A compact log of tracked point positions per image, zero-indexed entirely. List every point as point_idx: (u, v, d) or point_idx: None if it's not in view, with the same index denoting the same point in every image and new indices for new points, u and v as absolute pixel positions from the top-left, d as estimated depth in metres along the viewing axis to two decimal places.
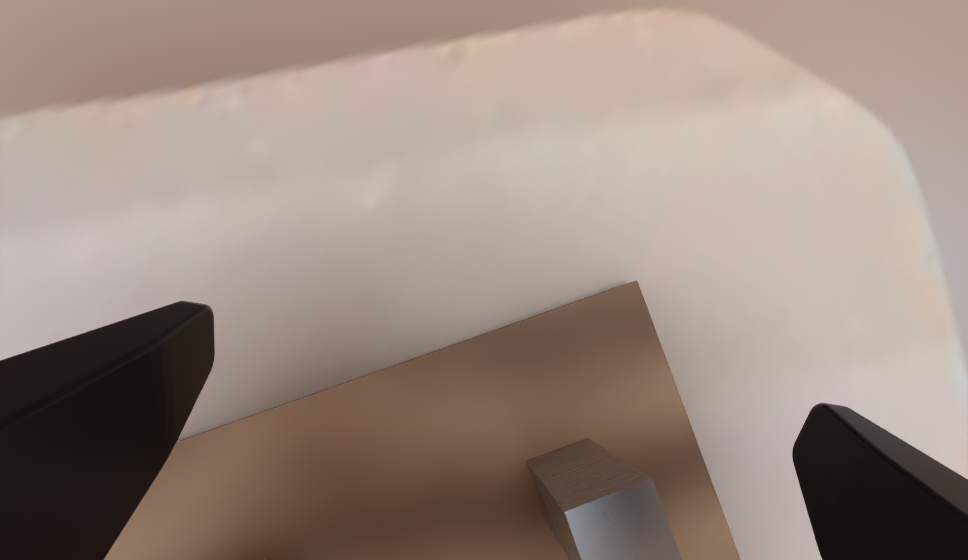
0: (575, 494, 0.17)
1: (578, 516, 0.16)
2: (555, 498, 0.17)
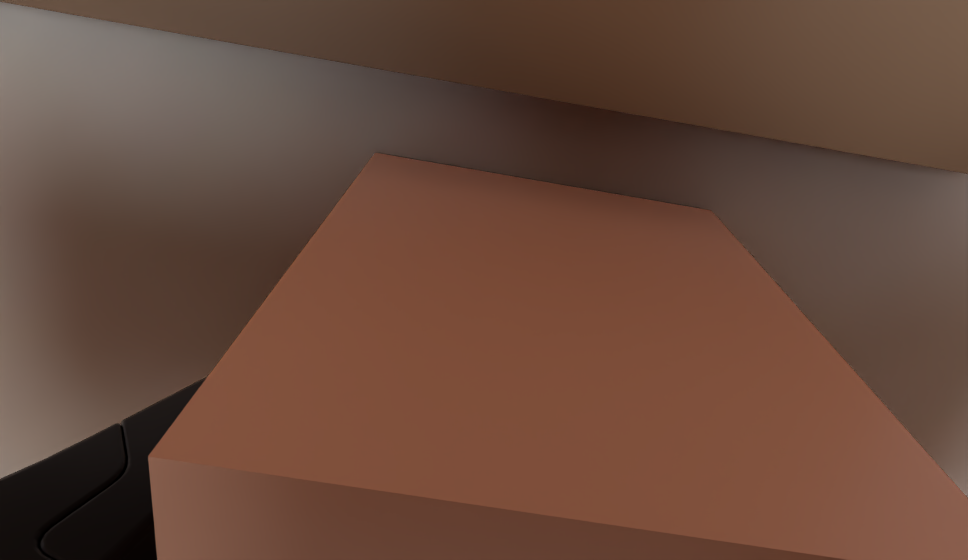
0: None
1: None
2: None
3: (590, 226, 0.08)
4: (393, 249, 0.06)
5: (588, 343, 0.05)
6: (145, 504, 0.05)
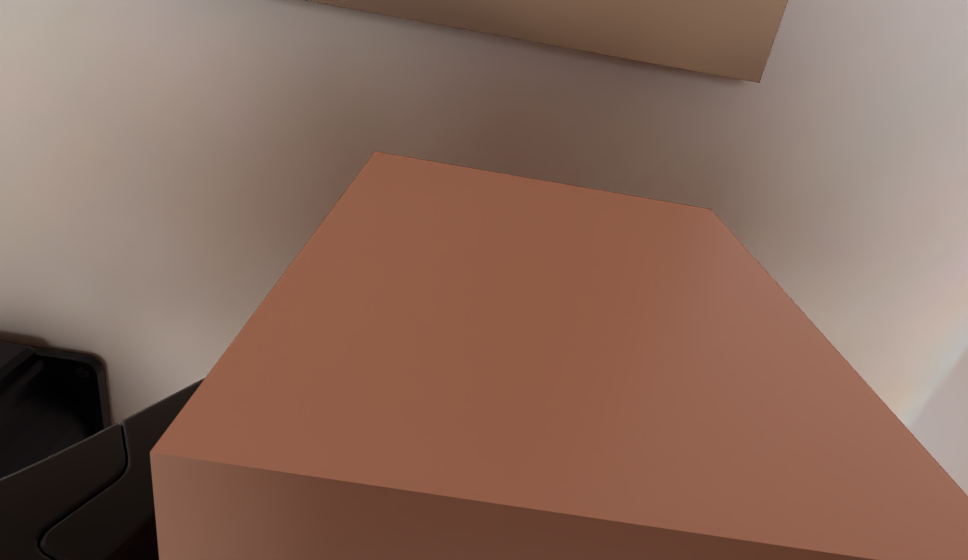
0: None
1: None
2: None
3: (590, 226, 0.08)
4: (393, 247, 0.06)
5: (588, 341, 0.05)
6: (145, 504, 0.05)
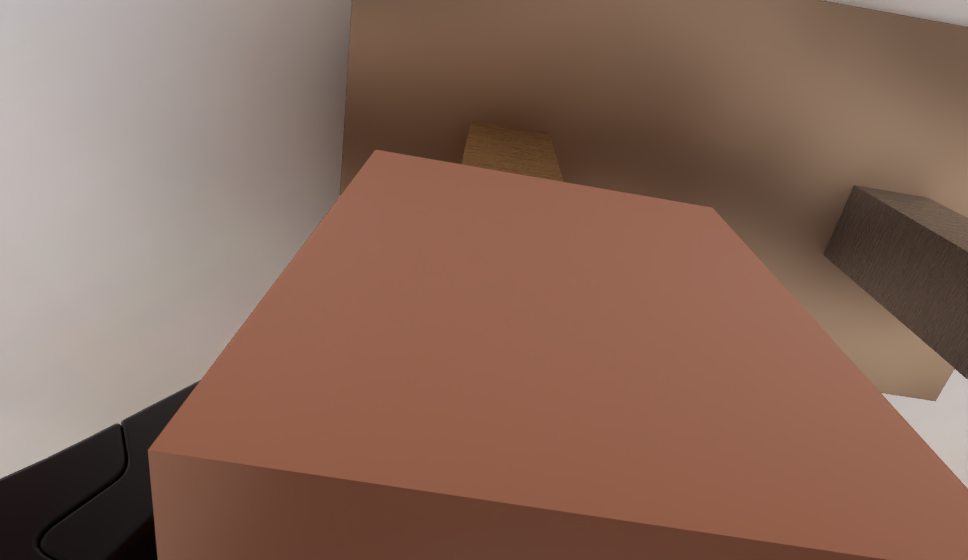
0: None
1: None
2: None
3: (591, 224, 0.08)
4: (394, 245, 0.06)
5: (590, 338, 0.05)
6: (145, 504, 0.05)
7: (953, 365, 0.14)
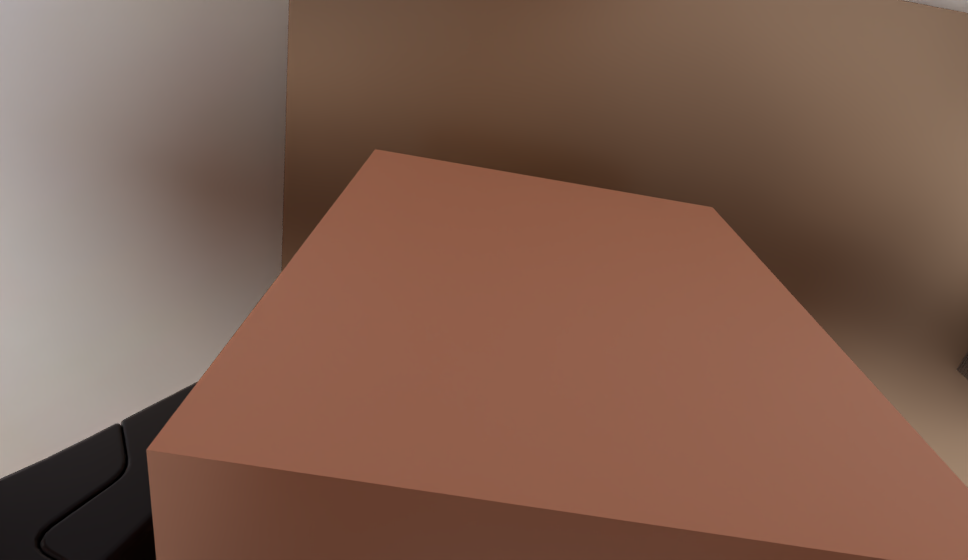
0: None
1: None
2: None
3: (591, 223, 0.08)
4: (393, 244, 0.06)
5: (590, 338, 0.05)
6: (145, 504, 0.05)
7: None
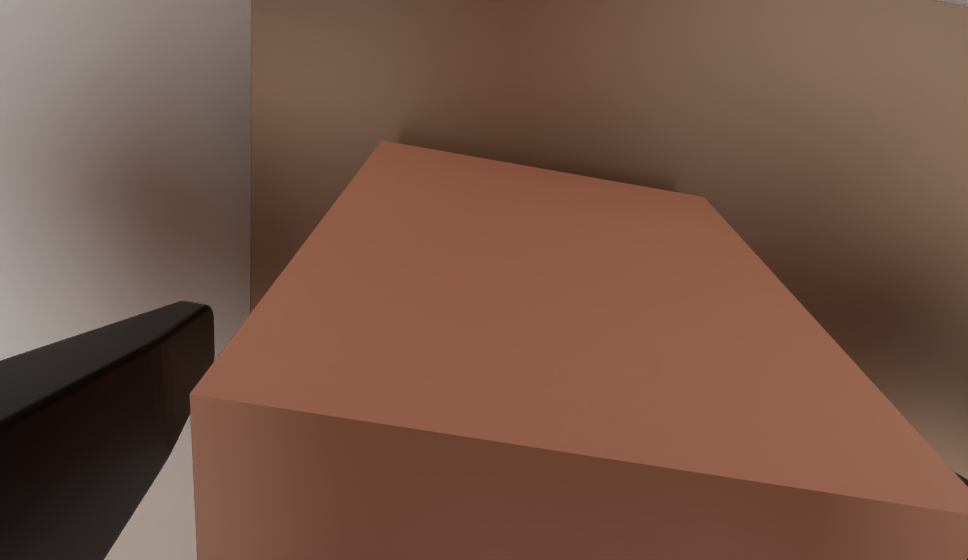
0: None
1: None
2: None
3: (587, 210, 0.08)
4: (402, 226, 0.07)
5: (584, 310, 0.06)
6: None
7: None
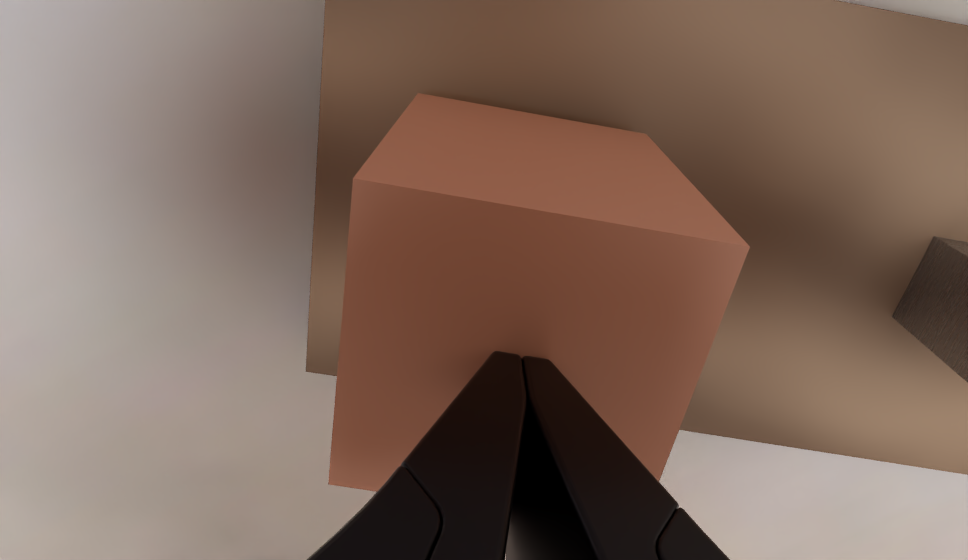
0: None
1: None
2: None
3: (560, 134, 0.12)
4: (440, 133, 0.11)
5: (551, 171, 0.10)
6: (487, 553, 0.05)
7: None
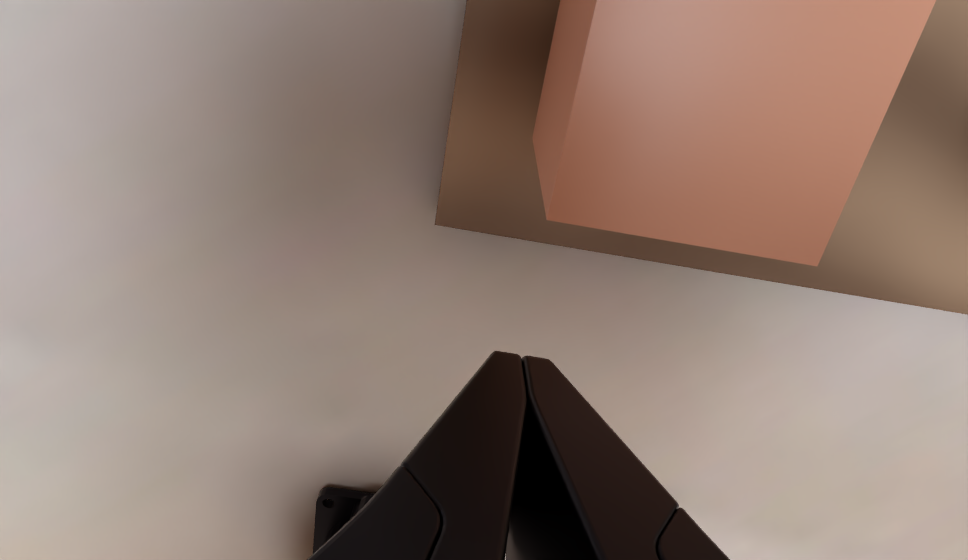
0: None
1: None
2: None
3: None
4: None
5: None
6: (487, 554, 0.05)
7: None
